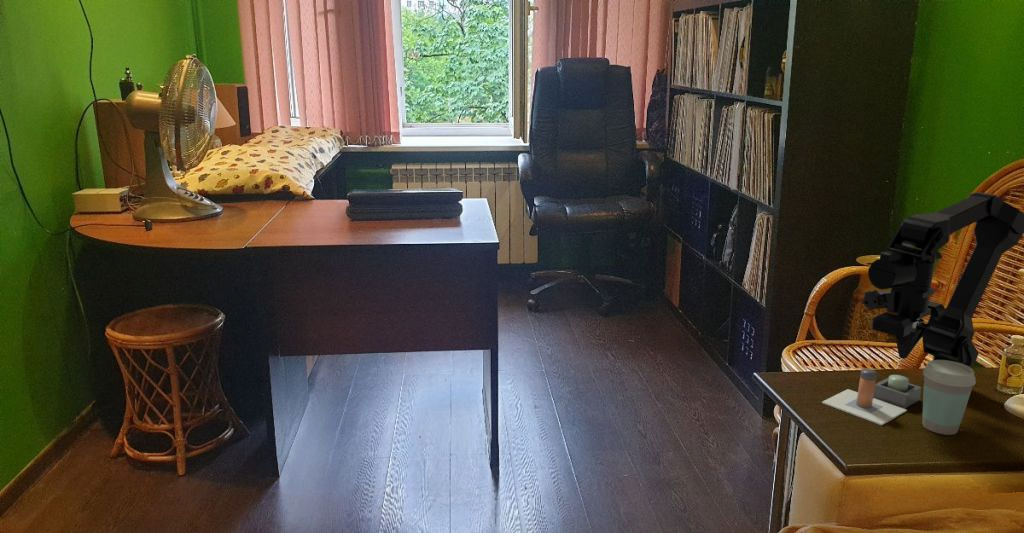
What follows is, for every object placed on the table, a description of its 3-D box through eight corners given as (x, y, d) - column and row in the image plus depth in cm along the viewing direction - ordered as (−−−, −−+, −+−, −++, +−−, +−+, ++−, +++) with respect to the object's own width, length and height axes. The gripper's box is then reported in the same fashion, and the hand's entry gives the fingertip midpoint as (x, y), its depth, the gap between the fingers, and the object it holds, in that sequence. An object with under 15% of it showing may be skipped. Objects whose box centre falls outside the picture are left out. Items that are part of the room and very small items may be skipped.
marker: (860, 400, 153) (865, 367, 151) (874, 405, 151) (880, 372, 149) (853, 404, 151) (858, 371, 149) (867, 409, 149) (873, 375, 147)
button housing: (887, 389, 159) (889, 376, 158) (919, 400, 154) (921, 387, 154) (872, 397, 155) (874, 384, 155) (904, 408, 151) (906, 395, 150)
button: (892, 384, 157) (894, 373, 156) (910, 390, 154) (912, 379, 153) (884, 388, 155) (885, 377, 154) (902, 394, 152) (904, 383, 151)
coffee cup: (973, 440, 138) (985, 378, 135) (921, 435, 140) (932, 374, 137) (956, 419, 146) (967, 360, 143) (908, 415, 148) (918, 356, 145)
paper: (847, 390, 158) (847, 388, 158) (906, 411, 149) (907, 409, 149) (821, 403, 152) (822, 401, 152) (881, 425, 143) (882, 423, 143)
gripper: (895, 265, 160) (885, 336, 164) (849, 281, 149) (839, 356, 153) (952, 277, 152) (939, 351, 156) (908, 295, 140) (896, 374, 145)
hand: (902, 357), depth 153 cm, fingers closed
